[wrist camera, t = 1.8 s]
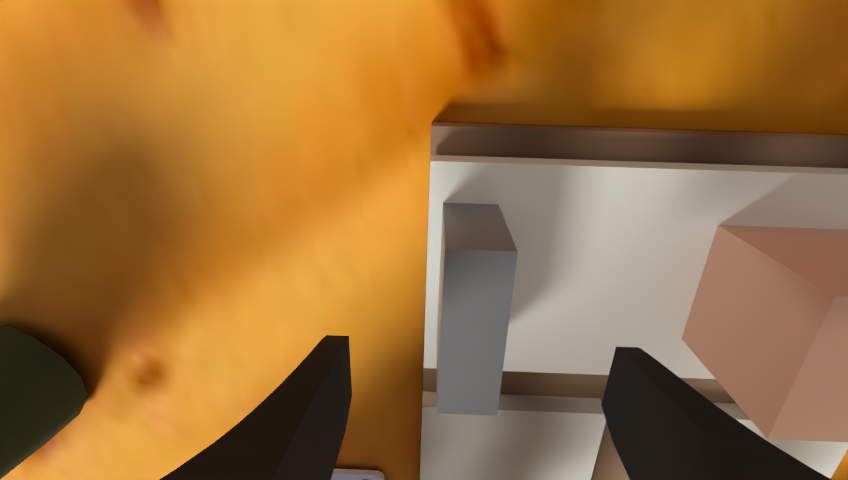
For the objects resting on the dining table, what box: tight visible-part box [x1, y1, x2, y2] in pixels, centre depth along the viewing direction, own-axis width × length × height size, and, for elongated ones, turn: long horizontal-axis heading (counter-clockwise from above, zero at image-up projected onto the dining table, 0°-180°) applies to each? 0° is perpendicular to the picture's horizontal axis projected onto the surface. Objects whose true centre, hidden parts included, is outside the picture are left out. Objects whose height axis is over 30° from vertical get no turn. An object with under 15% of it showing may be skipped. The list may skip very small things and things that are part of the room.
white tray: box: [423, 155, 848, 416], centre depth 15 cm, size 20×9×5 cm, turn 88°
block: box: [681, 225, 848, 442], centre depth 14 cm, size 5×5×5 cm
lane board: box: [420, 122, 848, 480], centre depth 20 cm, size 20×21×2 cm
